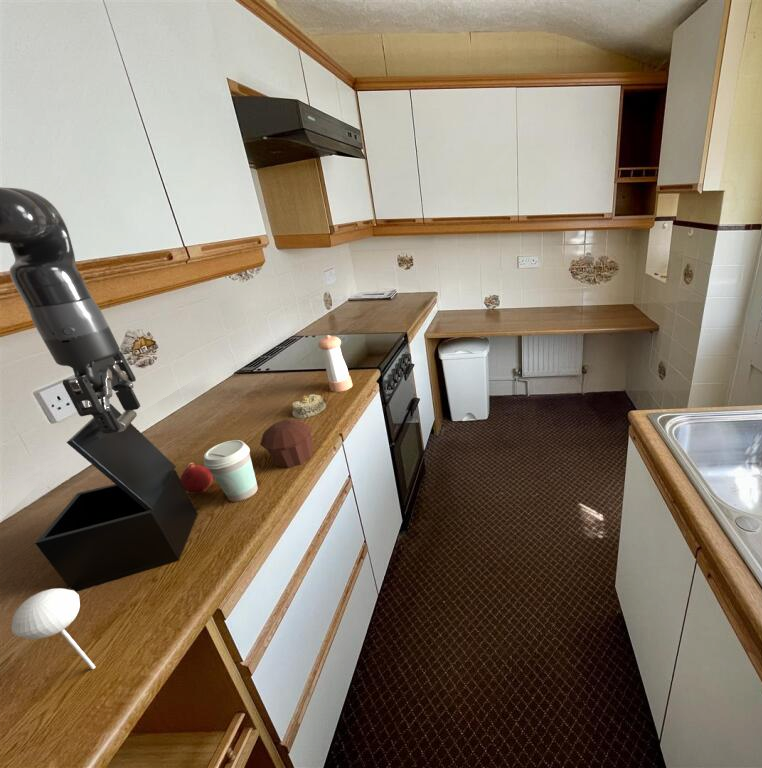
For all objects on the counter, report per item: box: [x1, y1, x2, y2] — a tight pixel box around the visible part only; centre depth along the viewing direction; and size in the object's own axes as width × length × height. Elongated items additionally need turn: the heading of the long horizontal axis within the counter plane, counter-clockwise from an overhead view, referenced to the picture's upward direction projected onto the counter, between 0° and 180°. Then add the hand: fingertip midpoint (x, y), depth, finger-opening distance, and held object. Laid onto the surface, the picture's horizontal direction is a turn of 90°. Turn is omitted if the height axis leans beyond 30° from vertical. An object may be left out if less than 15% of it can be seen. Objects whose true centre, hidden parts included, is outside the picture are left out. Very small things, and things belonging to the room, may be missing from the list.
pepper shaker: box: [318, 334, 353, 393], centre depth 138 cm, size 7×7×19 cm
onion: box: [180, 462, 214, 494], centre depth 92 cm, size 6×6×8 cm
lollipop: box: [10, 587, 97, 671], centre depth 56 cm, size 6×6×15 cm
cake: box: [291, 393, 327, 419], centre depth 127 cm, size 10×10×5 cm
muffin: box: [259, 419, 314, 469], centre depth 102 cm, size 12×11×10 cm
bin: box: [34, 469, 199, 593], centre depth 77 cm, size 16×14×12 cm
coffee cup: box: [203, 439, 259, 502], centre depth 90 cm, size 8×8×12 cm
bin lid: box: [66, 403, 177, 511], centre depth 73 cm, size 16×14×5 cm
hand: (123, 420), depth 70 cm, fingers open, 8 cm apart
